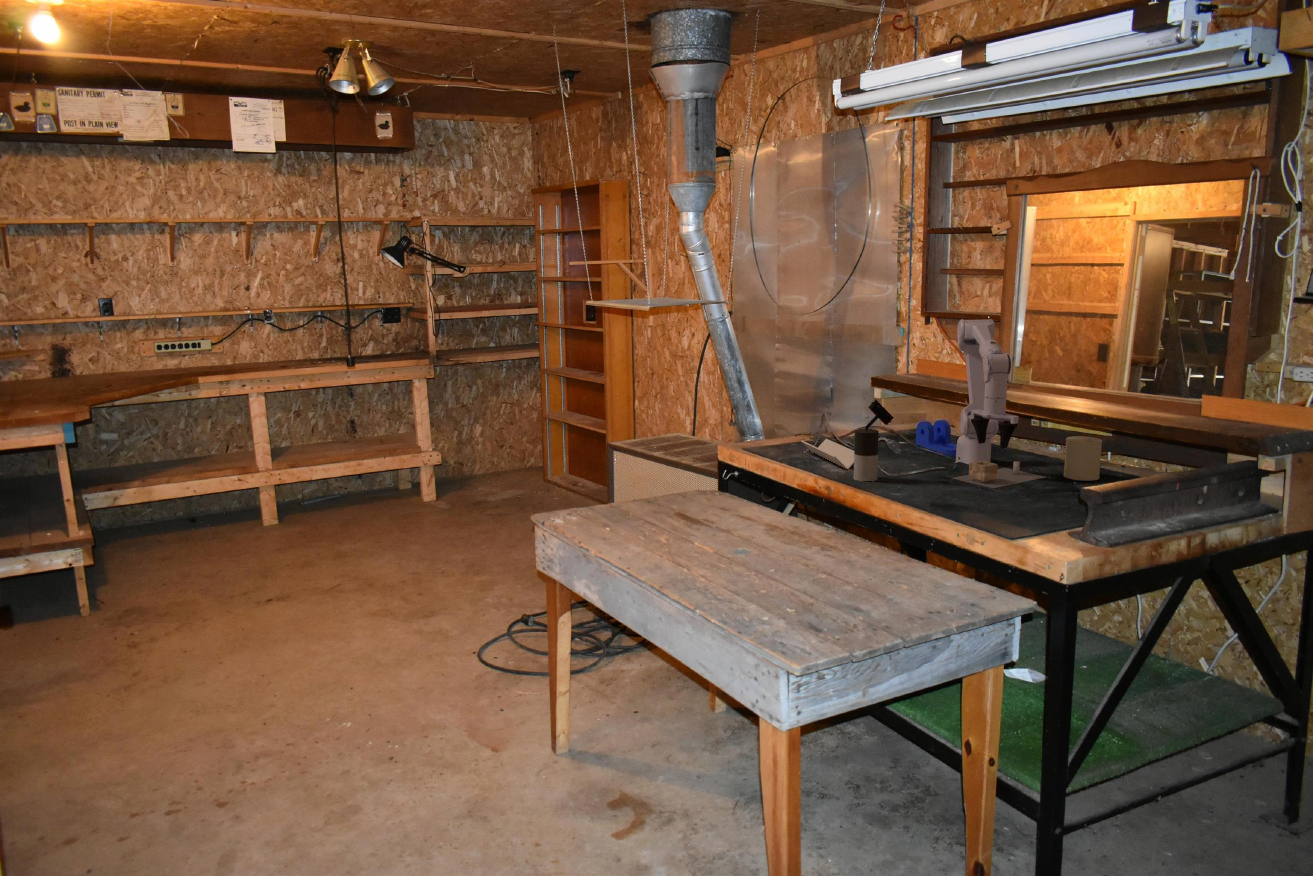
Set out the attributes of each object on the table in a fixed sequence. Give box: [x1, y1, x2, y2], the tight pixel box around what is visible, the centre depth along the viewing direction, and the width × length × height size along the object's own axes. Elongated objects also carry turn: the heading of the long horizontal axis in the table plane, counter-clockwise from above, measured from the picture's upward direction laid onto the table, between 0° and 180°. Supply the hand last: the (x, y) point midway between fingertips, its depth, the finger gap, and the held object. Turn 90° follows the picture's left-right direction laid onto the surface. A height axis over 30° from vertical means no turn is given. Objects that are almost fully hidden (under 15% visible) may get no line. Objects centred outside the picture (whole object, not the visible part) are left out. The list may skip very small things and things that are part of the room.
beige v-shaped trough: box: [800, 438, 854, 470], centre depth 285 cm, size 12×25×6 cm
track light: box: [853, 399, 894, 482], centre depth 259 cm, size 6×17×20 cm
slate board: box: [951, 460, 1046, 493], centre depth 255 cm, size 14×22×5 cm, turn 121°
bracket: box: [915, 419, 957, 457], centre depth 296 cm, size 18×8×9 cm, turn 18°
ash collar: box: [968, 461, 999, 481], centre depth 251 cm, size 5×5×4 cm
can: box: [1063, 435, 1103, 482], centre depth 254 cm, size 9×9×12 cm
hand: (992, 445), depth 257 cm, fingers open, 7 cm apart
